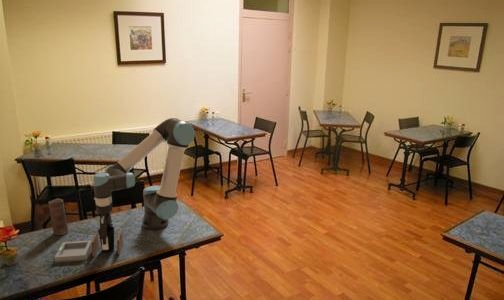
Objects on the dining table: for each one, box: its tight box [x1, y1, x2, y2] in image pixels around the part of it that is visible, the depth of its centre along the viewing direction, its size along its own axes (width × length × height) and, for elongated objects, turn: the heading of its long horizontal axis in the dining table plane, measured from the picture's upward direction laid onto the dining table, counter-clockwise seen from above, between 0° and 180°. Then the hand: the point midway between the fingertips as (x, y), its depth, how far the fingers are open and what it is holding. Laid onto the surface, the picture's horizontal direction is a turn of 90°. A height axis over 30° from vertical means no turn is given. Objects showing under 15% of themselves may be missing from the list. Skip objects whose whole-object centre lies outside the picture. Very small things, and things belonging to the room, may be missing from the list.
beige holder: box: [91, 230, 124, 257], centre depth 191 cm, size 13×10×8 cm
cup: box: [97, 225, 115, 254], centre depth 190 cm, size 8×8×12 cm
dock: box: [54, 240, 92, 264], centre depth 187 cm, size 14×14×3 cm
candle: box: [48, 198, 69, 236], centre depth 204 cm, size 8×7×20 cm
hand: (107, 243), depth 191 cm, fingers open, 10 cm apart
